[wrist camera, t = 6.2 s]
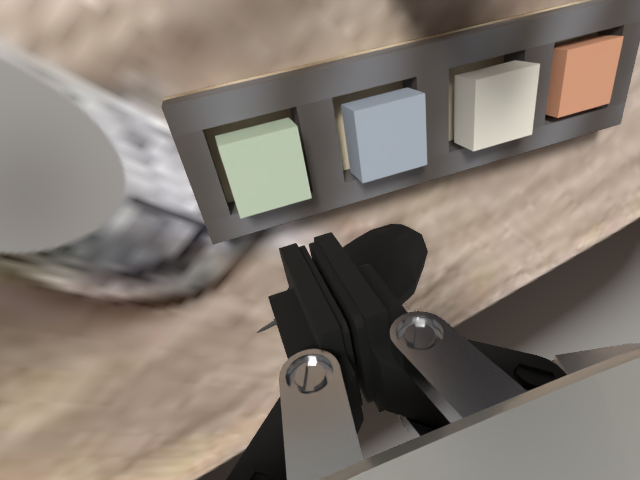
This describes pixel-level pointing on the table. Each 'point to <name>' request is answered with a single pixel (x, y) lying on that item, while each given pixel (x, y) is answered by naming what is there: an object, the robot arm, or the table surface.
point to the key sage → (264, 166)
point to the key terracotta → (583, 74)
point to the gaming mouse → (389, 258)
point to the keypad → (381, 77)
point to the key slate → (385, 133)
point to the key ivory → (495, 104)
